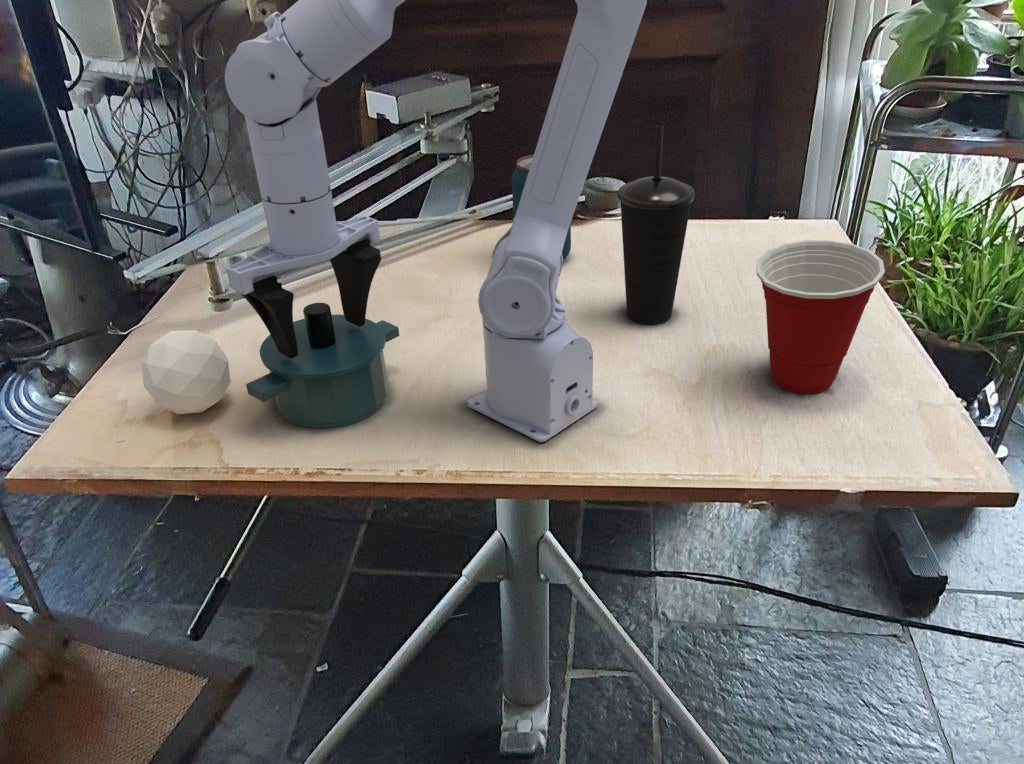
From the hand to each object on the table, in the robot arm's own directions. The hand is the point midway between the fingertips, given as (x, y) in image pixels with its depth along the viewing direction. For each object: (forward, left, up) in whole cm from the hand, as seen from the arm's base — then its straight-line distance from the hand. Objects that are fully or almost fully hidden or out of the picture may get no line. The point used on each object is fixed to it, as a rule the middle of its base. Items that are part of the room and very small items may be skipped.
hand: (322, 337), depth 81 cm
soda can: (+6, -37, -7) cm, 38 cm away
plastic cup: (-32, -31, -7) cm, 45 cm away
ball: (+9, +9, -7) cm, 15 cm away
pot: (0, 0, -6) cm, 6 cm away
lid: (0, 0, -1) cm, 1 cm away
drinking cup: (-13, -33, -7) cm, 36 cm away
